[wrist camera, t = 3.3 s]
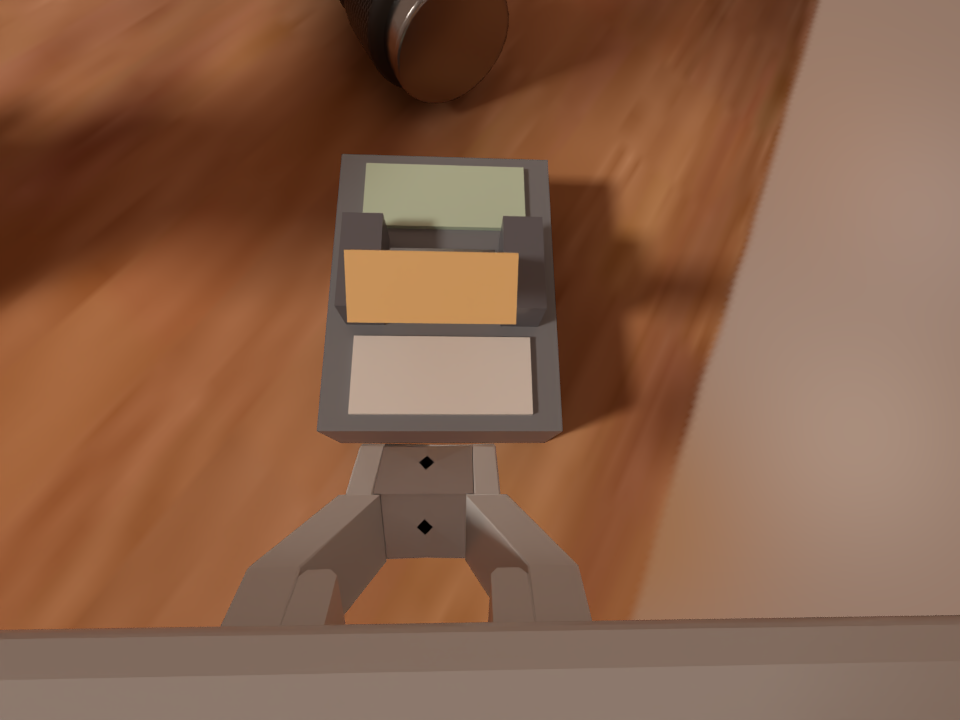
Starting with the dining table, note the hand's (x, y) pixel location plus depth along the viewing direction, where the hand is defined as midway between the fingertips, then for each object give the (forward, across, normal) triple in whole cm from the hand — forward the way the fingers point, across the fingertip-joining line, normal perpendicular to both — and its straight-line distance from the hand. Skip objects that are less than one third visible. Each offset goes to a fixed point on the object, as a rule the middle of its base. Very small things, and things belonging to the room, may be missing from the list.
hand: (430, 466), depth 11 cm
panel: (+20, 0, +5) cm, 20 cm away
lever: (+15, 0, 0) cm, 15 cm away
